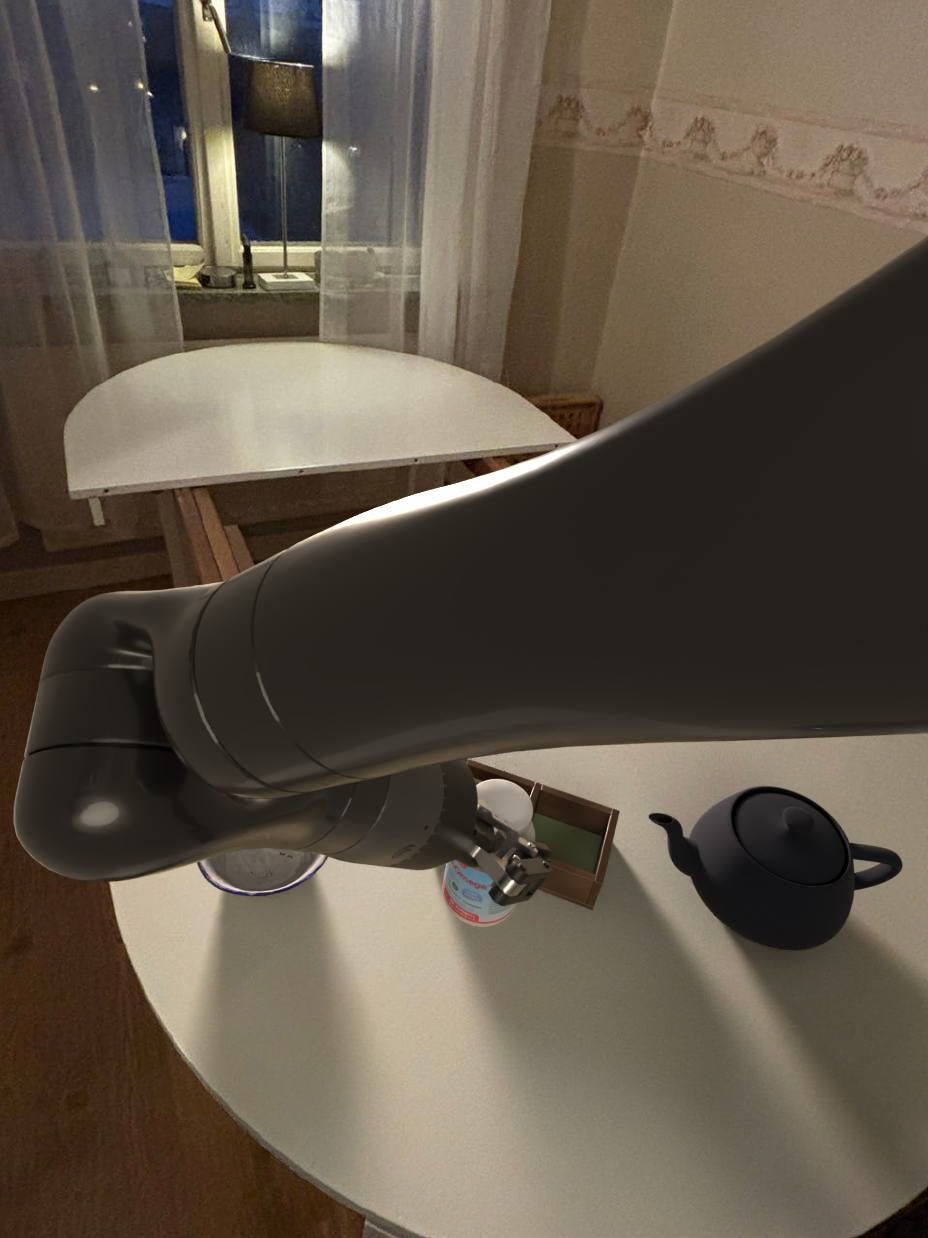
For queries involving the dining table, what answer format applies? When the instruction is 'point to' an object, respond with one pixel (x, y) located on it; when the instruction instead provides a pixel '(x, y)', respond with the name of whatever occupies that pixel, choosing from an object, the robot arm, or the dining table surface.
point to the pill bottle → (471, 885)
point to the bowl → (260, 871)
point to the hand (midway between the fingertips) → (510, 827)
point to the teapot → (775, 866)
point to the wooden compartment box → (566, 836)
